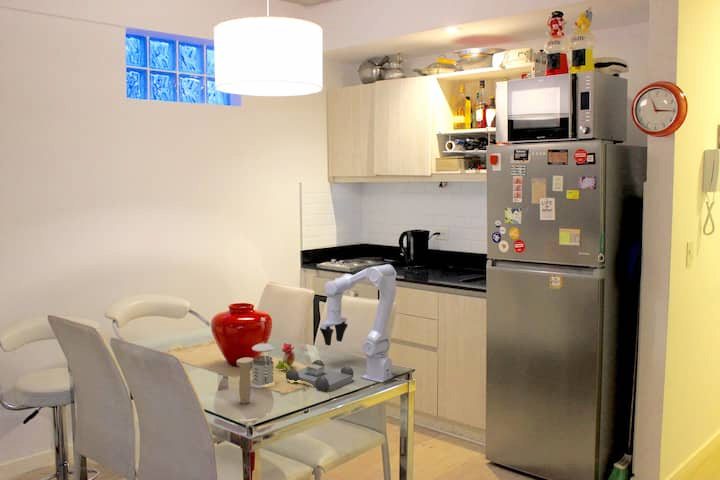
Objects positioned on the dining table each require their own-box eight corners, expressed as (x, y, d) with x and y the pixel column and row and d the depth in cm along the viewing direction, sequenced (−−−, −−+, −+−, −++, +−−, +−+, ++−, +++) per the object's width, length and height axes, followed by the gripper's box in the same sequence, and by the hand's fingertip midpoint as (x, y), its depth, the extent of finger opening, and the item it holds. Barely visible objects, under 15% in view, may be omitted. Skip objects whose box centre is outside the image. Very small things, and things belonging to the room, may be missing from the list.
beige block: (323, 379, 269) (323, 366, 269) (317, 381, 266) (317, 369, 265) (313, 376, 272) (313, 364, 271) (306, 379, 269) (306, 366, 268)
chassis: (354, 380, 269) (354, 368, 268) (326, 392, 255) (327, 379, 254) (313, 370, 280) (313, 358, 280) (284, 381, 266) (284, 368, 266)
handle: (256, 400, 245) (256, 358, 243) (245, 406, 239) (245, 363, 238) (244, 398, 247) (244, 356, 245) (233, 404, 241) (233, 361, 240)
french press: (271, 378, 270) (271, 314, 267) (281, 387, 259) (281, 321, 256) (246, 381, 266) (246, 316, 263) (255, 390, 255) (255, 323, 252)
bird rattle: (282, 372, 284) (272, 369, 276) (287, 344, 287) (278, 341, 279) (296, 374, 282) (286, 371, 274) (301, 346, 285) (292, 343, 277)
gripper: (337, 305, 293) (336, 337, 295) (315, 311, 281) (314, 345, 283) (350, 308, 289) (350, 340, 291) (329, 314, 277) (328, 348, 279)
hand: (333, 343), depth 287 cm, fingers open, 7 cm apart
